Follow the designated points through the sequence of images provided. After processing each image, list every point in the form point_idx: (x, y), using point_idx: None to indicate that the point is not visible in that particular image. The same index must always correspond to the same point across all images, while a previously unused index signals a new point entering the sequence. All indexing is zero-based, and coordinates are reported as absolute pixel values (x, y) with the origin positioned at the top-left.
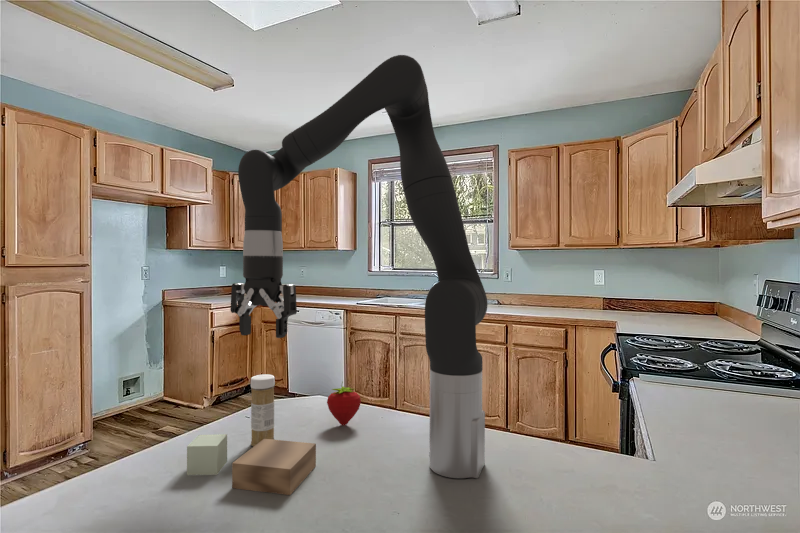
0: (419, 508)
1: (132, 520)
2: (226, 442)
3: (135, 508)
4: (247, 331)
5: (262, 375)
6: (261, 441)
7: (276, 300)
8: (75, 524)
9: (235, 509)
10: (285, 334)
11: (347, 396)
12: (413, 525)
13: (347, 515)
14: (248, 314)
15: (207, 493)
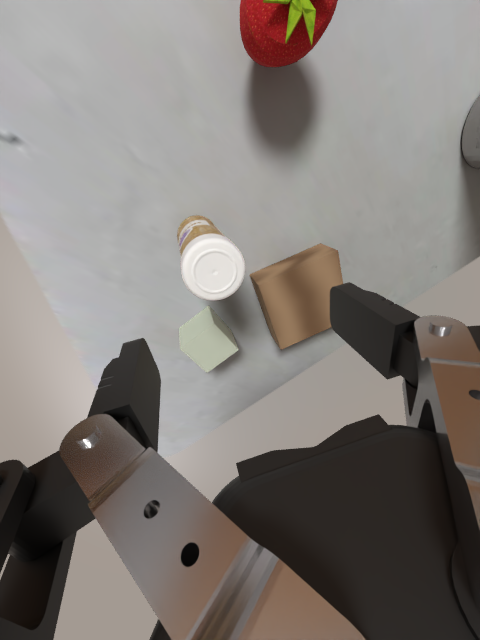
0: (453, 248)
1: (242, 403)
2: (214, 320)
3: (226, 398)
4: (150, 364)
5: (202, 264)
6: (262, 293)
7: (455, 436)
8: (211, 429)
9: (302, 349)
10: (350, 284)
11: (321, 19)
12: (450, 274)
13: (395, 297)
14: (128, 431)
15: (257, 353)
